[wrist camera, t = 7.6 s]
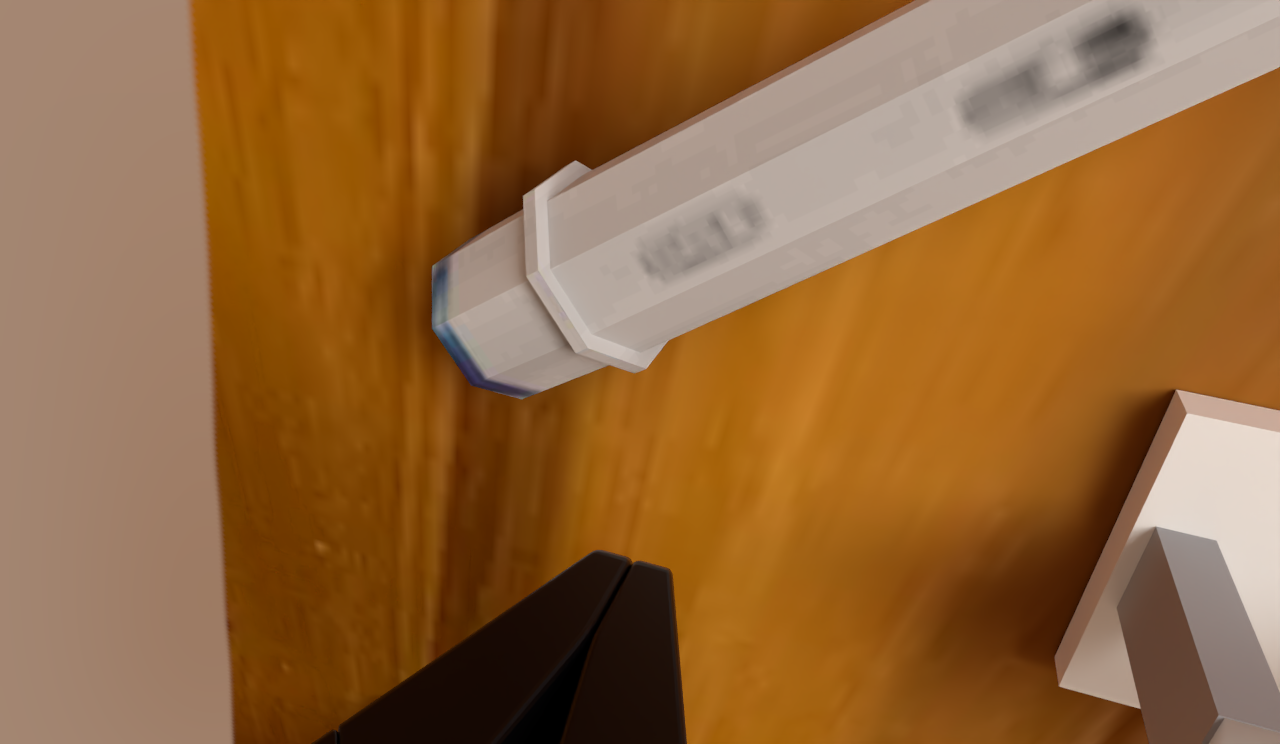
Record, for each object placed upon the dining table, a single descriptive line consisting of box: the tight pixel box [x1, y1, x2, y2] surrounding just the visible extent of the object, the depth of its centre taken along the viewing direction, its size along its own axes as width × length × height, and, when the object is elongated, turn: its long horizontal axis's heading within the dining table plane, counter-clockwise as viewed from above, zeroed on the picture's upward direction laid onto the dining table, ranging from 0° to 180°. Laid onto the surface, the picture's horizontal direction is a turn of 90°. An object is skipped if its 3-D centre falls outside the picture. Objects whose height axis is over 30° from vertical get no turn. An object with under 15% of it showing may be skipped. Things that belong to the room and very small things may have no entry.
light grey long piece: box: [432, 0, 1280, 399], centre depth 15 cm, size 5×7×25 cm
